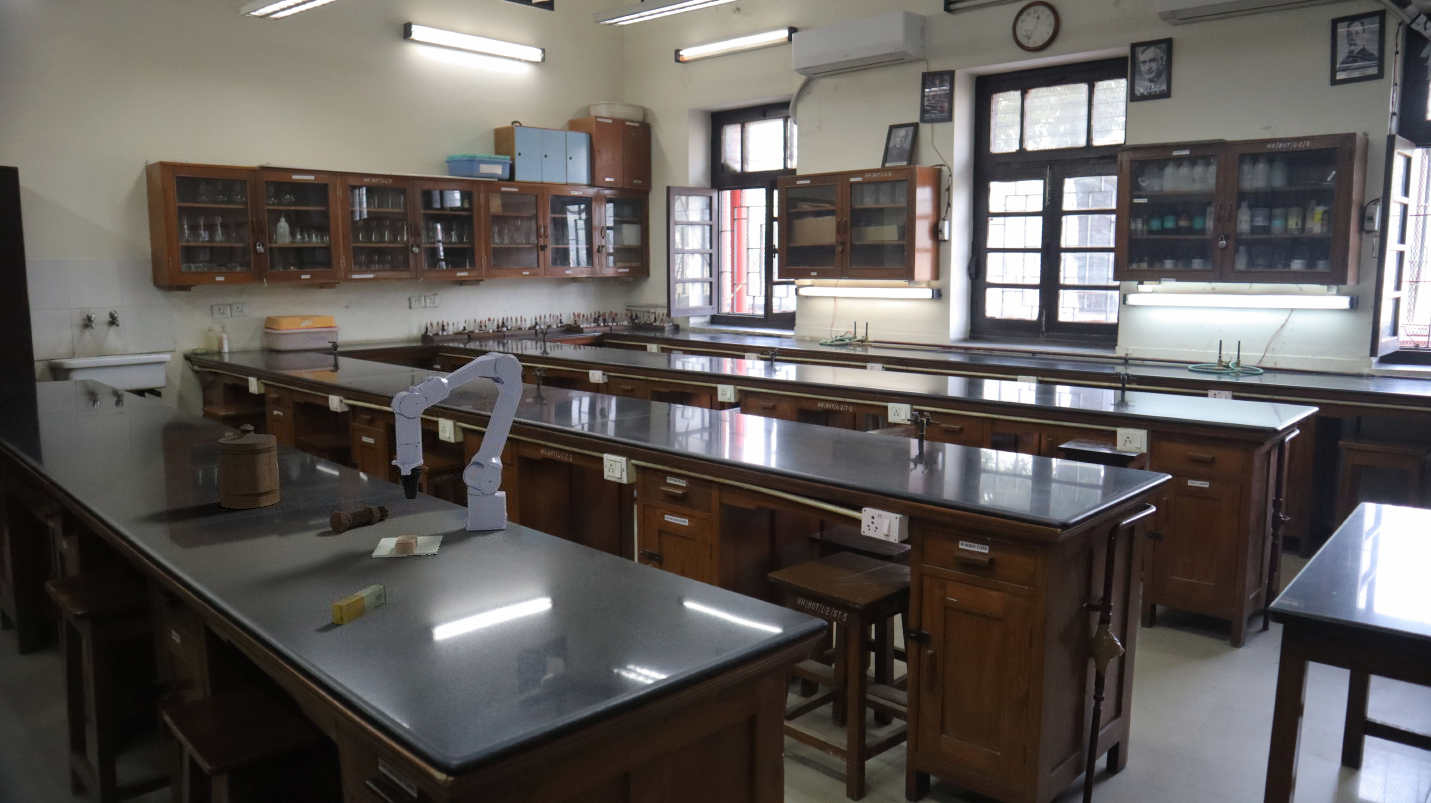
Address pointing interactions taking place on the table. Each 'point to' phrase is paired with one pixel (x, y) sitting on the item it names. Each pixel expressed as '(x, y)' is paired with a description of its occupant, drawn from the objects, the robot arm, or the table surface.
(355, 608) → the medication box
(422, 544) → the board
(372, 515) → the bolt
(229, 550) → the table surface
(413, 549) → the slab
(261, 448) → the wooden container
